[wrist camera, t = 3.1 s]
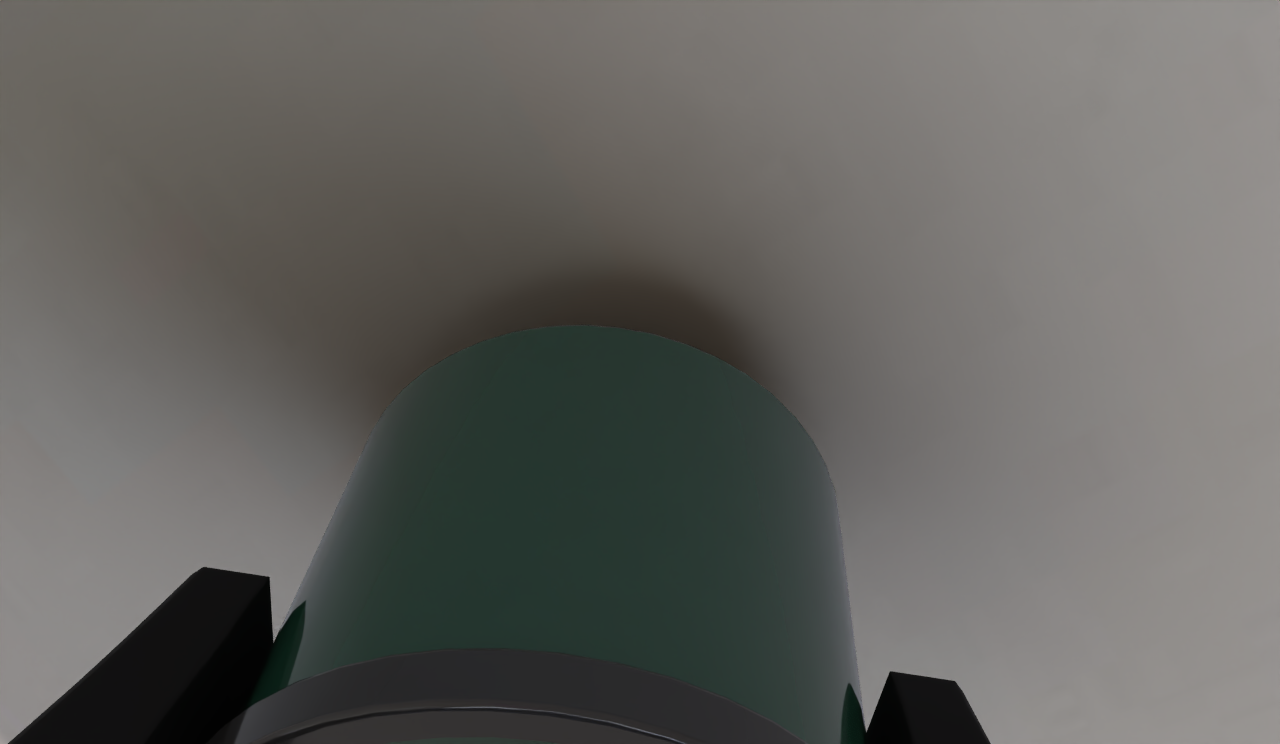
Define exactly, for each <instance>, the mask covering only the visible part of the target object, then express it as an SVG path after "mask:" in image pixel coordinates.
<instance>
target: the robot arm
mask: <svg viewBox="0 0 1280 744" xmlns="http://www.w3.org/2000/svg"><path fill="white" fill-rule="evenodd" d="M272 646H273V630H272V612H271V595H270V578H269V577H266V576H260V575H253V574H246V573H240V572H233V571H227V570H220V569H214V568H207V567H203V568H201V569H200V570H198V571H197V572H195V573H193V574H192V575H191V576H190V577H189V578H188V579H187V580H186V581H185V582H184V583H183V584H182V585H180V586H179V587H178V588H177V589H176V590H175V591H174V592H173V593H172V594H171V595H170V596H169V597H168V598H167V599H166V600H165V601H164V602H163V603H162V604H161V605H160V606H159V607H158V608H157V609H156V610H154V611H153V612H152V613H151V614H150V615H149V616H148V617H147V618H146V619H145V620H144V621H143V622H142V623H141V624H140V625H139V626H138V627H137V628H136V629H135V630H133V631H132V632H131V633H130V634H129V635H128V636H127V637H126V638H125V639H124V640H123V641H122V642H121V643H120V644H119V645H118V646H116V647H115V648H114V649H113V650H112V651H111V652H110V653H109V654H108V655H107V656H106V657H105V658H103V659H102V660H101V661H100V662H99V663H98V664H97V665H96V666H95V667H94V668H93V669H92V670H90V671H89V672H88V673H87V674H86V675H85V676H84V677H83V678H82V679H81V680H80V681H78V682H77V683H76V684H75V685H74V686H73V687H72V688H71V689H69V690H68V691H67V692H66V693H65V694H64V695H63V696H62V697H60V698H59V699H58V700H57V701H56V702H55V703H54V704H52V705H51V706H50V707H49V708H48V709H47V710H46V711H44V712H43V713H42V714H41V715H40V716H39V717H38V718H36V719H35V720H34V721H33V722H32V723H31V724H30V725H29V726H27V727H26V728H25V729H24V730H23V731H22V732H21V733H19V734H18V735H17V736H16V737H15V738H14V739H13V740H11V741H10V742H9V743H8V744H206V743H207V742H208V741H209V740H210V739H211V738H212V737H213V736H214V735H215V734H216V733H217V732H218V731H219V730H220V729H221V728H222V727H223V726H224V725H225V724H227V723H228V722H229V721H231V720H232V719H234V718H235V717H236V716H238V715H239V714H241V713H242V711H243V708H244V706H245V704H246V702H247V700H248V698H249V695H250V693H251V691H252V689H253V687H254V685H255V682H256V680H257V678H258V676H259V674H260V672H261V669H262V667H263V665H264V663H265V661H266V659H267V656H268V654H269V652H270V650H271V648H272ZM866 737H867V744H991V743H990V742H989V740H988V738H987V736H986V734H985V732H984V730H983V729H982V727H981V725H980V723H979V721H978V719H977V717H976V716H975V714H974V712H973V710H972V708H971V706H970V704H969V703H968V701H967V699H966V697H965V695H964V693H963V691H962V690H961V689H960V687H959V686H958V685H957V683H956V682H955V681H951V680H944V679H937V678H931V677H924V676H918V675H911V674H905V673H898V672H891V671H890V673H889V675H888V678H887V680H886V683H885V686H884V688H883V691H882V694H881V696H880V699H879V701H878V704H877V707H876V709H875V712H874V714H873V717H872V720H871V722H870V725H869V727H868V730H867V733H866Z"/></svg>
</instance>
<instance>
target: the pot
mask: <svg viewBox="0 0 1280 744" xmlns="http://www.w3.org/2000/svg"><path fill="white" fill-rule="evenodd" d="M206 744H867V737H866V729H865V721H864V713H863V705H862V696H861V688H860V680H859V672H858V664H857V656H856V647H855V639H854V631H853V623H852V615H851V607H850V599H849V590H848V582H847V574H846V566H845V558H844V550H843V541H842V533H841V525H840V517H839V511H838V505H837V499H836V493H835V489H834V486H833V483H832V480H831V477H830V474H829V472H828V469H827V466H826V464H825V462H824V460H823V458H822V456H821V455H820V453H819V451H818V449H817V447H816V445H815V443H814V442H813V440H812V439H811V437H810V436H809V435H808V433H807V432H806V431H805V429H804V428H803V427H802V425H801V424H800V423H799V421H798V420H797V419H796V417H795V416H794V415H793V414H792V413H791V412H790V411H789V410H788V409H787V408H786V407H785V406H784V405H783V404H782V403H781V402H780V401H779V400H778V399H777V398H776V397H775V396H774V395H773V394H772V393H770V392H769V391H768V390H766V389H765V388H764V387H762V386H761V385H760V384H759V383H757V382H756V381H755V380H753V379H752V378H751V377H749V376H748V375H747V374H745V373H744V372H742V371H740V370H738V369H737V368H735V367H733V366H732V365H730V364H728V363H726V362H725V361H723V360H721V359H720V358H718V357H716V356H714V355H711V354H709V353H707V352H704V351H702V350H700V349H697V348H695V347H693V346H690V345H688V344H686V343H683V342H679V341H676V340H673V339H669V338H666V337H663V336H659V335H656V334H653V333H648V332H642V331H637V330H631V329H626V328H620V327H610V326H596V325H563V326H546V327H540V328H534V329H528V330H522V331H515V332H512V333H508V334H505V335H501V336H498V337H495V338H491V339H488V340H484V341H482V342H479V343H477V344H475V345H472V346H470V347H468V348H466V349H463V350H461V351H459V352H456V353H454V354H452V355H450V356H449V357H447V358H445V359H444V360H442V361H440V362H439V363H437V364H436V365H434V366H432V367H431V368H429V369H427V370H426V371H424V372H423V373H422V374H421V375H420V376H418V377H417V378H416V379H415V380H414V381H412V382H411V383H410V384H409V385H408V386H406V387H405V388H404V389H403V390H402V391H401V392H400V393H399V394H398V396H397V397H396V398H395V399H394V400H393V401H392V402H391V404H390V405H389V406H388V407H387V408H386V409H385V411H384V412H383V414H382V415H381V417H380V419H379V420H378V422H377V423H376V425H375V427H374V428H373V430H372V431H371V433H370V436H369V438H368V440H367V442H366V444H365V446H364V449H363V451H362V453H361V455H360V457H359V459H358V462H357V464H356V466H355V468H354V470H353V472H352V475H351V477H350V479H349V481H348V483H347V485H346V488H345V490H344V492H343V494H342V496H341V498H340V501H339V503H338V505H337V507H336V509H335V511H334V514H333V516H332V518H331V520H330V522H329V524H328V527H327V529H326V531H325V533H324V535H323V537H322V540H321V542H320V544H319V546H318V548H317V550H316V553H315V555H314V557H313V559H312V561H311V563H310V566H309V568H308V570H307V572H306V574H305V576H304V579H303V581H302V583H301V585H300V587H299V589H298V591H297V594H296V596H295V598H294V600H293V602H292V604H291V607H290V609H289V611H288V613H287V615H286V617H285V620H284V622H283V624H282V626H281V628H280V630H279V633H278V635H277V637H276V639H275V641H274V643H273V646H272V648H271V650H270V652H269V654H268V656H267V659H266V661H265V663H264V665H263V667H262V669H261V672H260V674H259V676H258V678H257V680H256V682H255V685H254V687H253V689H252V691H251V693H250V695H249V698H248V700H247V702H246V704H245V706H244V708H243V711H242V713H241V714H239V715H238V716H236V717H235V718H234V719H232V720H231V721H229V722H228V723H227V724H225V725H224V726H223V727H222V728H221V729H220V730H219V731H218V732H217V733H216V734H215V735H214V736H213V737H212V738H211V739H210V740H209V741H208V742H207V743H206Z"/></svg>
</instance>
